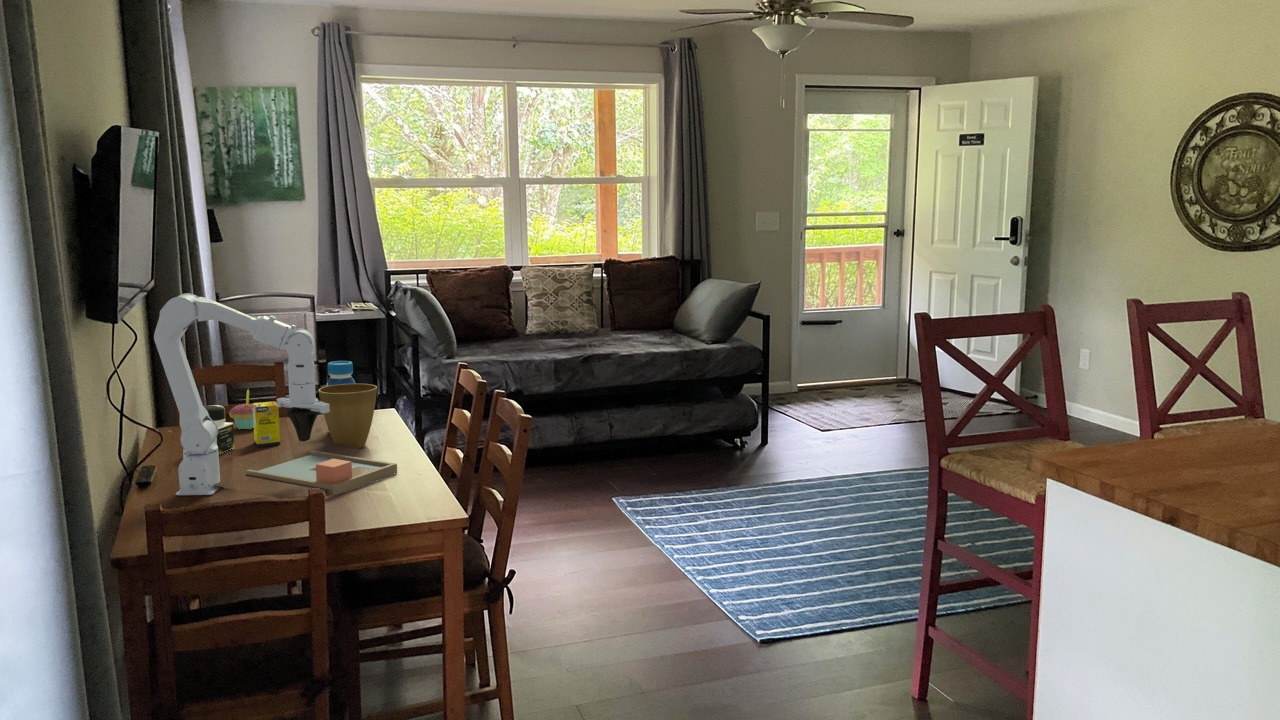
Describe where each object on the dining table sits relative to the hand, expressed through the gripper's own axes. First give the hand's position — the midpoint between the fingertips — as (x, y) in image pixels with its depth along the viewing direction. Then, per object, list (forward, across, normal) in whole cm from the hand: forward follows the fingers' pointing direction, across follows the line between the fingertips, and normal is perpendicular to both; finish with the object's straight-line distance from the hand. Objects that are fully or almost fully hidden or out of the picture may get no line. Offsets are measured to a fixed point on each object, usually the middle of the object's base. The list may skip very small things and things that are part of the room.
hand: (304, 440), depth 221 cm
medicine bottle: (+10, +42, -10) cm, 45 cm away
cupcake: (+10, +57, -32) cm, 66 cm away
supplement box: (+10, +37, -22) cm, 44 cm away
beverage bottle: (+10, +29, -42) cm, 52 cm away
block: (+8, -9, 0) cm, 13 cm away
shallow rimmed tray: (+10, +1, -5) cm, 11 cm away
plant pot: (+10, +15, -30) cm, 35 cm away
